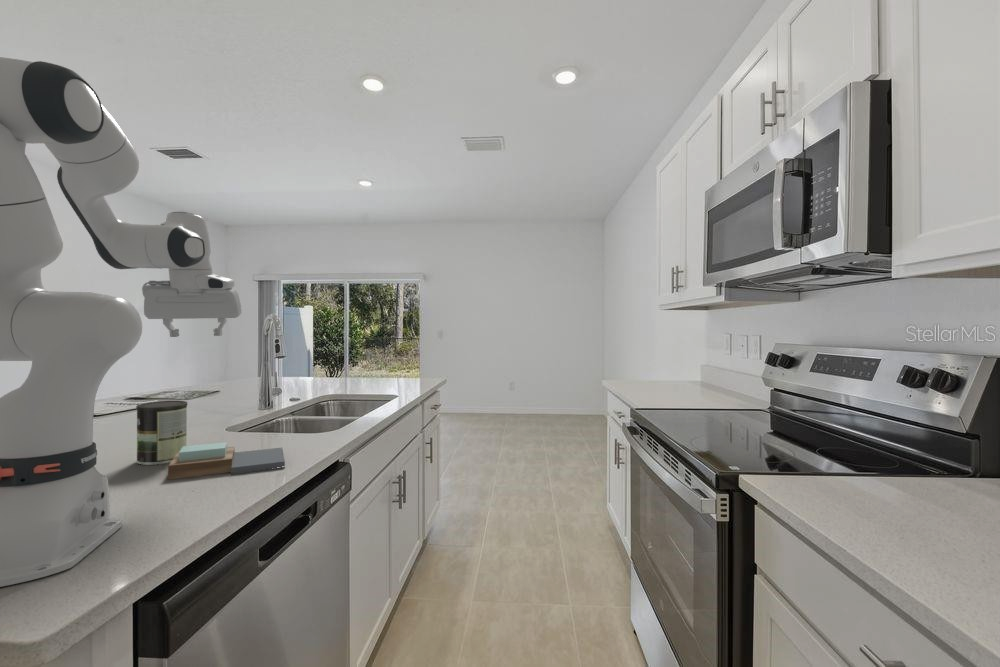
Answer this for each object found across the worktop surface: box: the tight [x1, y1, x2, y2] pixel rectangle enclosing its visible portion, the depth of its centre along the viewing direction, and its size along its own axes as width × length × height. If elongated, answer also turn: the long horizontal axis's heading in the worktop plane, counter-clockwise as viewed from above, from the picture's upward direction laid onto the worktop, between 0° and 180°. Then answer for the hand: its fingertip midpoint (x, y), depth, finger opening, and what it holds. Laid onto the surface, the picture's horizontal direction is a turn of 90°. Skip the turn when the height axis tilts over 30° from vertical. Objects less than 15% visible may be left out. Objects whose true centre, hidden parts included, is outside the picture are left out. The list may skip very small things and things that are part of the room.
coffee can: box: [135, 400, 188, 466], centre depth 113 cm, size 10×10×14 cm
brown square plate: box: [167, 446, 236, 480], centre depth 106 cm, size 12×12×3 cm
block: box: [179, 441, 228, 461], centre depth 106 cm, size 6×9×2 cm, turn 118°
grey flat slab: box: [230, 447, 286, 475], centre depth 111 cm, size 14×11×2 cm
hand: (196, 336), depth 113 cm, fingers open, 8 cm apart
